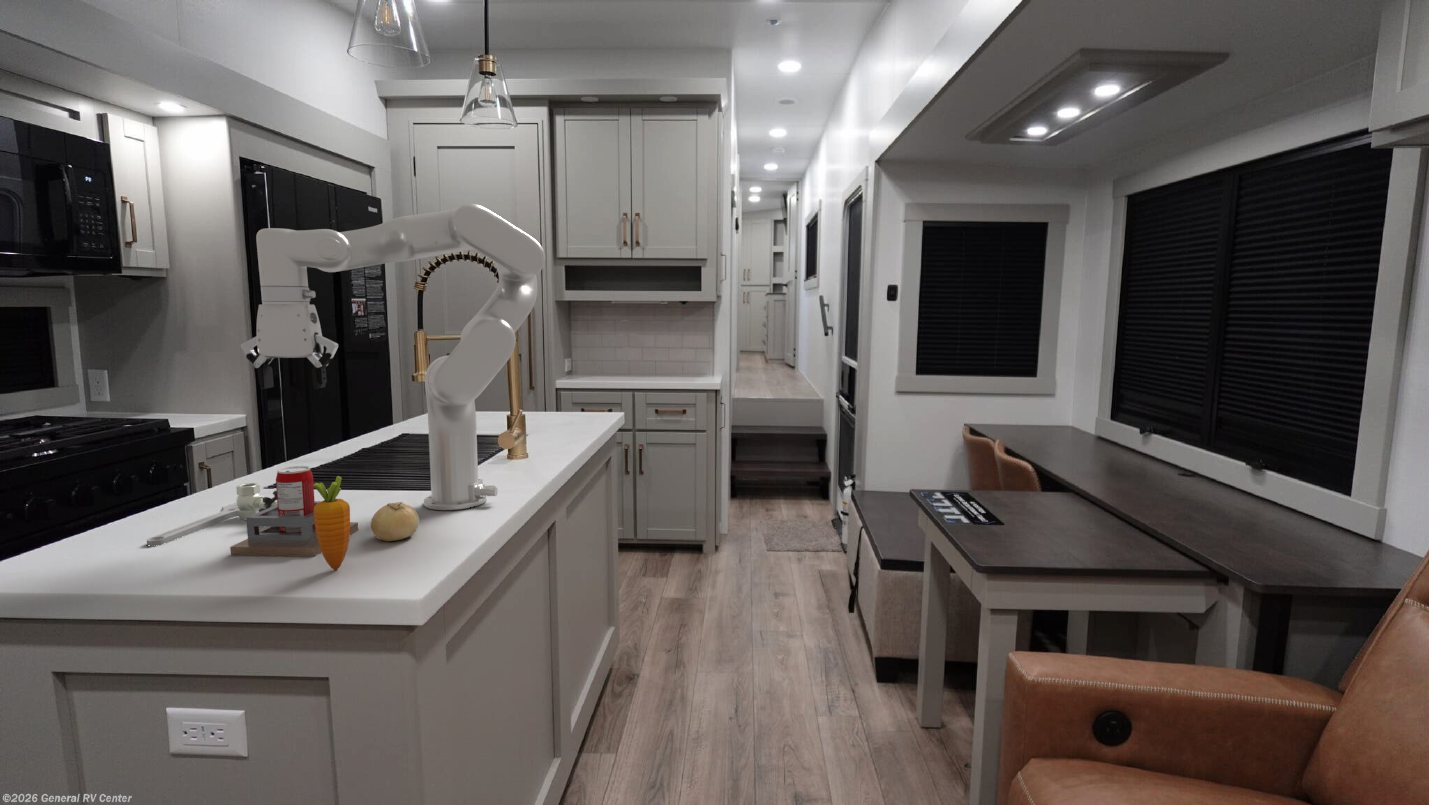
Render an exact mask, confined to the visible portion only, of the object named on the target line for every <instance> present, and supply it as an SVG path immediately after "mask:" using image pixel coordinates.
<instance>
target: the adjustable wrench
mask: <svg viewBox="0 0 1429 805" xmlns="http://www.w3.org/2000/svg"><path fill="white" fill-rule="evenodd" d="M238 511H239V508H238V507H237V503H236V502H234V503H230V504H228V505H225V506H222V507H221V509H220V511H219V512H217V513H214V514H211V515H208V516H206V517H203V518H201V519H198V520H195V521H192V522H190V523H187V524H183V525H181V526H178V527H176V528H173V529H171V530H167V531H165V532H163V533H160V534H157V535H155V536H152V537H149V538H147V539H146V546H147V545H150V546H153V547H157V546H156V545H159V546H163V545H165V544H164V543H166V544H168V543H171V542H174V541H176V540H178V539H177V538H179V539H181V538H183V537H182V536H184V537H185V536H188V535H191V534H194V533H196V532H199V531H201V529H202V530H204V529H207V528H209V527H211V526H214V525H217V524H219V522H220V523H222V522H224V521H225V522H226V521H227V520H230V519H232V518H236V517H239V513H238ZM175 539H176V540H175ZM170 541H171V542H170ZM162 544H163V545H162ZM154 545H155V546H154Z"/></svg>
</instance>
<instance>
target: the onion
mask: <svg viewBox="0 0 1429 805" xmlns="http://www.w3.org/2000/svg"><path fill="white" fill-rule="evenodd" d="M419 522H420V518H419V515H418V512H417V511H416V509H415V508H414V507H413V506H411V505H409V504H406V503H404V502H403V501H400V502H399V501H397V502H392V503H391V502H388V503H387V504H386V505H383V506H381V507H380V508H379V509H378V510H377V511H376V512H375V513H374V514H373V516H372V517H371V521H370V529H371V530H370V531H372V533H373V535H374V536H375V537H376V538H377V539H378V540H381V541H385V542H392V541H400V540H404V539H407V538H410V537H411V536H413V535H414V534H415V533H416V531H417V529H418V528H419V524H420V523H419Z"/></svg>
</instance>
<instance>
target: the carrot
mask: <svg viewBox="0 0 1429 805" xmlns="http://www.w3.org/2000/svg"><path fill="white" fill-rule="evenodd" d="M341 483H342V476H340V475H337V476H336V477H335V481H332V482H331V484H330V486H329V487H328V488H326V486H325V484H324V483H323V482H319V483H318V482H314V483H313V486H314V489H315V490H316V491H317V492H318V493H319V494H320V496H321V497H322V499H323V500H321V502H319V503H317V504H316V505H315V506H314V520H315V528H316V535H317V539H318V543H319V546H320V549H321V554H322V556H323V558H324V560H325V562H326V563H327V564H328V566H329V567H330V568H331V569H332V570H333V571H338V570H339V568H341V566H342V563H343V562H344V560H345V558H346V555H347V552H348V548H349V542H350V536H351V535H350V522H351V509H350V504H349V502H347V501H346V500H344V499H343V498H337V496H338V495H339V494H340V492H341V490H342V488H341V487H340V486H341Z"/></svg>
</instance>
